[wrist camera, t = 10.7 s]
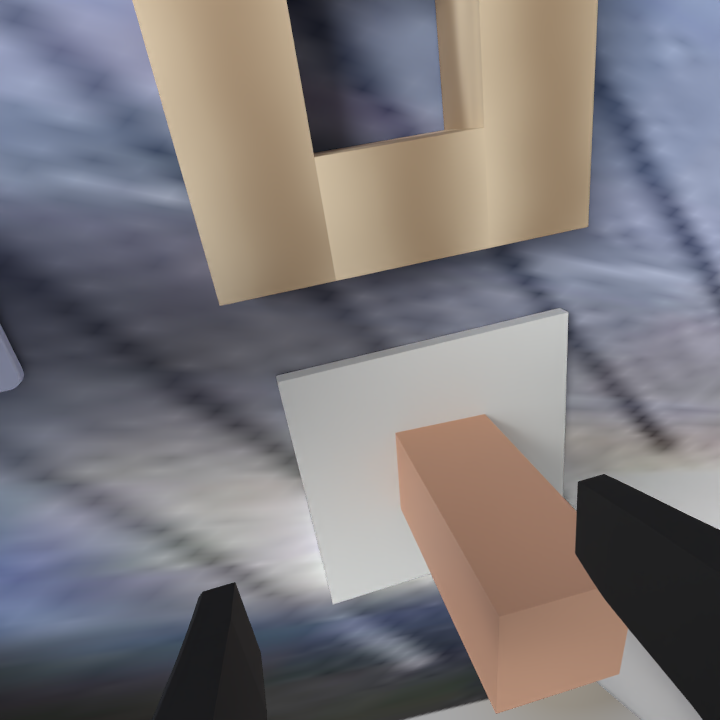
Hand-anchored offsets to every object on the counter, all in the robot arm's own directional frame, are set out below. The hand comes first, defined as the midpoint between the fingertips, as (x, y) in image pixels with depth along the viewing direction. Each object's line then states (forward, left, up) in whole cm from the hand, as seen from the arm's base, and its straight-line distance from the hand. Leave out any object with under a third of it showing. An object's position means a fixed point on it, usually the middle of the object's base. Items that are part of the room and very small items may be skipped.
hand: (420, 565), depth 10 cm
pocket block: (+3, +10, -10) cm, 15 cm away
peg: (+4, -6, -10) cm, 12 cm away
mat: (+4, -6, -10) cm, 13 cm away
